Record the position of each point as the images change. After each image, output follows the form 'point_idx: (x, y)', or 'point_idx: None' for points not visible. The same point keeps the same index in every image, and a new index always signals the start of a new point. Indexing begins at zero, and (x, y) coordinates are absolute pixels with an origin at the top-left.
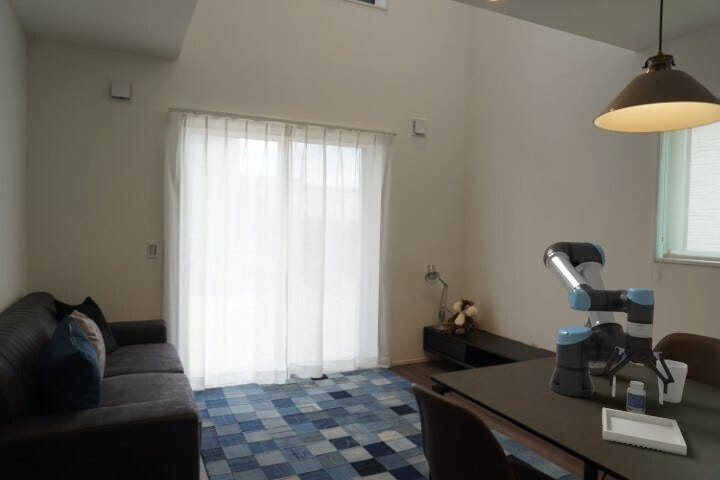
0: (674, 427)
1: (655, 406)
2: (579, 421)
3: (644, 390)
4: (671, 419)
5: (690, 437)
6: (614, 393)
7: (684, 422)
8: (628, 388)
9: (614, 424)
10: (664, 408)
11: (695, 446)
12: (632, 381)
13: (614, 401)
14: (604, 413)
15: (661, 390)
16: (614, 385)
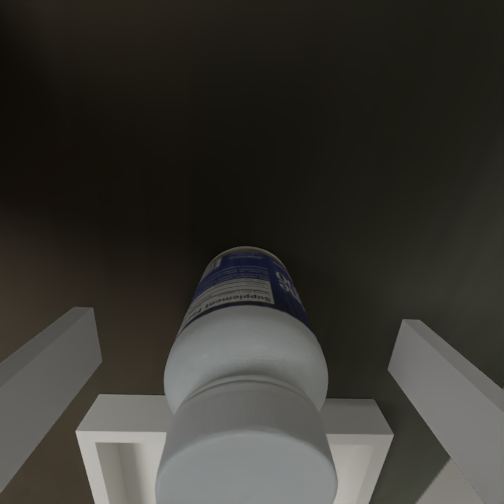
0: (358, 481)
1: (389, 121)
2: (37, 475)
3: (322, 393)
4: (376, 435)
5: (394, 448)
6: (81, 382)
7: (445, 322)
8: (169, 398)
9: (152, 477)
10: (435, 137)
11: (379, 494)
12: (187, 472)
13: (132, 148)
14: (97, 486)
15: (483, 492)
16: (15, 459)
